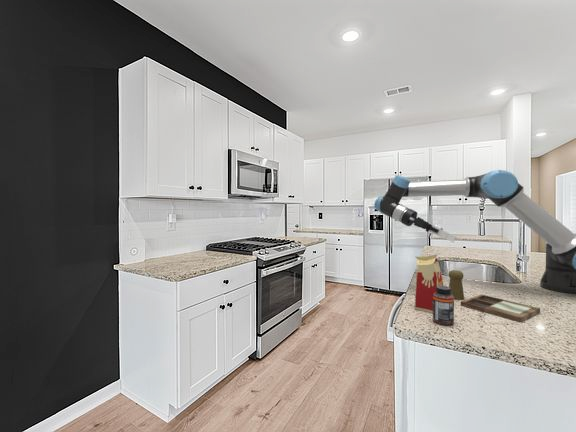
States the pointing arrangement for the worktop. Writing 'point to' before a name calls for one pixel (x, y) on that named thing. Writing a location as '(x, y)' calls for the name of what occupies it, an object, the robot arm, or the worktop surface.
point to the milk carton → (427, 282)
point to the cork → (456, 284)
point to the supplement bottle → (443, 306)
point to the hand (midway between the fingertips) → (451, 238)
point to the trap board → (501, 307)
